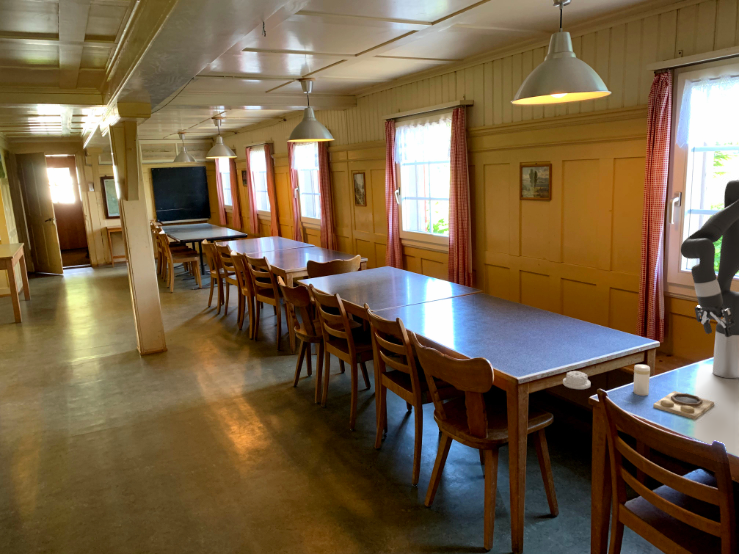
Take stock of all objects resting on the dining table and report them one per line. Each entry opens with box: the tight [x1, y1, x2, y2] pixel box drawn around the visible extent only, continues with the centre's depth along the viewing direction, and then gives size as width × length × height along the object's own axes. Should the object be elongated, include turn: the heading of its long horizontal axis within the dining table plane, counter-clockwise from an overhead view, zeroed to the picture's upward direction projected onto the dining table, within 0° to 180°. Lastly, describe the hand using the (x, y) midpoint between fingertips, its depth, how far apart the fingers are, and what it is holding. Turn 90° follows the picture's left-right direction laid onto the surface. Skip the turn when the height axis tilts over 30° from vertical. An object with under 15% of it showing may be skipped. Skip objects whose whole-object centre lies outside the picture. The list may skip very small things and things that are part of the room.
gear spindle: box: [632, 364, 651, 396], centre depth 194 cm, size 5×5×10 cm
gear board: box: [652, 390, 715, 420], centre depth 183 cm, size 16×13×2 cm
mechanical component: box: [562, 370, 591, 390], centre depth 205 cm, size 10×4×10 cm
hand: (718, 334), depth 193 cm, fingers open, 8 cm apart
